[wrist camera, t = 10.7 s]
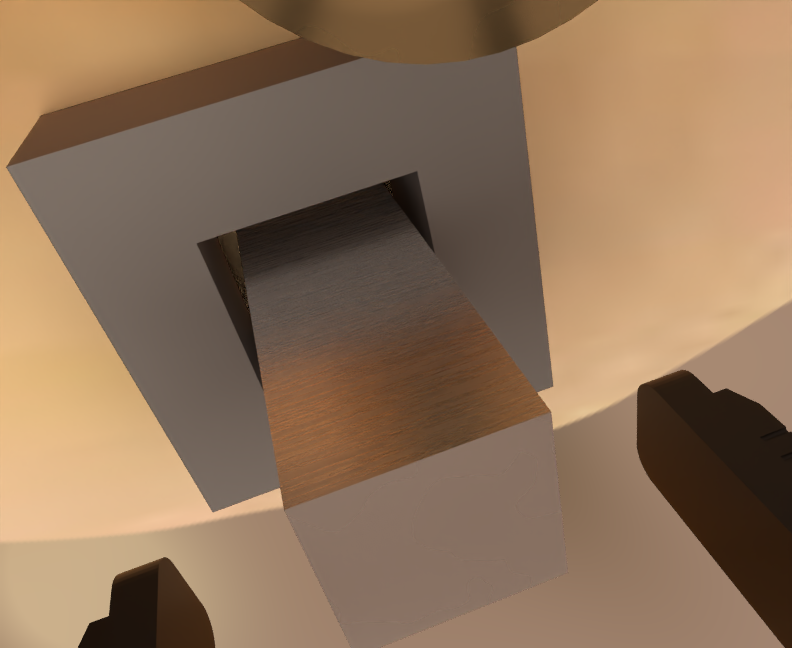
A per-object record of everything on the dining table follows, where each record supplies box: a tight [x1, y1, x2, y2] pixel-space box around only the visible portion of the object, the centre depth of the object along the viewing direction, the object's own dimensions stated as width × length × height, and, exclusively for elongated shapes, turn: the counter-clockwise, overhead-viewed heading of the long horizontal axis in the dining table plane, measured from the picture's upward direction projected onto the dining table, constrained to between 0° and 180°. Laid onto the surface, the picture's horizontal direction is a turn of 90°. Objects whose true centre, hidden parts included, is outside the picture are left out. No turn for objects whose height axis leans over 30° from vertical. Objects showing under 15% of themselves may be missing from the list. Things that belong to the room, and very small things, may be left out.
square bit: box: [236, 183, 568, 648], centre depth 15 cm, size 4×4×12 cm
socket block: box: [6, 38, 553, 512], centre depth 18 cm, size 11×11×4 cm
